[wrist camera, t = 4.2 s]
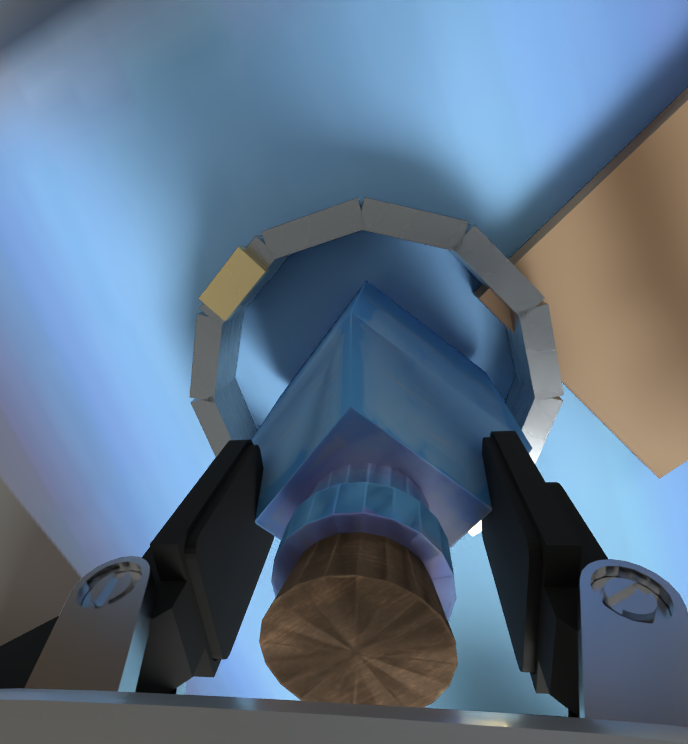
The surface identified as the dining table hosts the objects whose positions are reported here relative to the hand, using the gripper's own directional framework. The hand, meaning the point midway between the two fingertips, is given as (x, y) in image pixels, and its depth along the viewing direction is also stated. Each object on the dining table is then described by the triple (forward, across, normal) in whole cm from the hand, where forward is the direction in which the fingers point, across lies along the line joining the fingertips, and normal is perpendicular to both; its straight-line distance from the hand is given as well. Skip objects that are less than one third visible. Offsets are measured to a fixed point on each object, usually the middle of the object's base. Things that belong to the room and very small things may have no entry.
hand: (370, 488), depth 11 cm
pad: (+8, -12, -3) cm, 15 cm away
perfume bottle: (+8, 0, 0) cm, 8 cm away
